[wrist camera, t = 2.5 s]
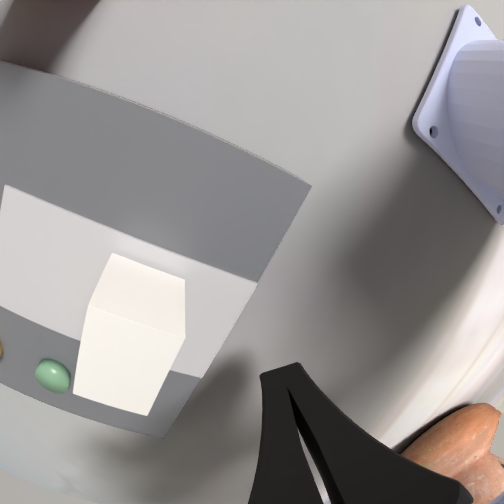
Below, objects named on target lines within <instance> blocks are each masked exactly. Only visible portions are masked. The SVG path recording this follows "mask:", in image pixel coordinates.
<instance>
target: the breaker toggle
mask: <svg viewBox="0 0 504 504" xmlns="http://www.w3.org/2000/svg"><path fill="white" fill-rule="evenodd" d="M185 338H186V336H185V280H184V279H181V278H179V277H176V276H173V275H170V274H168V273H165V272H162V271H159V270H157V269H154V268H151V267H149V266H146V265H143V264H141V263H138V262H135V261H133V260H130V259H127V258H125V257H122V256H120V255H117V254H114V253H112V254H111V256H110V258H109V260H108V262H107V264H106V266H105V268H104V270H103V273H102V275H101V277H100V279H99V281H98V284H97V286H96V288H95V290H94V293H93V295H92V297H91V299H90V302H89V304H88V308H87V313H86V317H85V322H84V327H83V332H82V337H81V342H80V348H79V354H78V360H77V366H76V373H75V380H74V387H73V394H75V395H78V396H81V397H84V398H87V399H90V400H93V401H96V402H99V403H102V404H105V405H109V406H112V407H115V408H119V409H122V410H126V411H130V412H133V413H137V414H141V415H145V416H147V415H148V413H149V411H150V409H151V407H152V405H153V403H154V401H155V399H156V397H157V395H158V393H159V391H160V389H161V386H162V384H163V382H164V380H165V378H166V376H167V374H168V372H169V370H170V368H171V366H172V364H173V362H174V360H175V358H176V356H177V354H178V352H179V350H180V348H181V346H182V344H183V342H184V340H185Z"/></svg>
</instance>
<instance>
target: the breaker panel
mask: <svg viewBox="0 0 504 504" xmlns="http://www.w3.org/2000/svg"><path fill="white" fill-rule="evenodd" d="M311 187H312V186H311V185H309V184H308V183H306V182H305V181H303V180H302V179H300V178H299V177H297V176H295V175H294V174H292V173H290V172H288V171H286V170H284V169H282V168H280V167H278V166H276V165H274V164H273V163H271V162H269V161H267V160H265V159H263V158H261V157H259V156H257V155H255V154H253V153H251V152H248V151H246V150H244V149H242V148H240V147H238V146H236V145H234V144H232V143H230V142H228V141H225V140H223V139H221V138H219V137H217V136H215V135H212V134H210V133H208V132H206V131H204V130H201V129H199V128H197V127H195V126H192V125H190V124H188V123H185V122H183V121H181V120H178V119H176V118H174V117H171V116H169V115H166V114H164V113H161V112H159V111H156V110H154V109H151V108H149V107H146V106H144V105H141V104H139V103H136V102H133V101H131V100H128V99H125V98H123V97H120V96H117V95H115V94H112V93H109V92H106V91H103V90H100V89H98V88H95V87H92V86H89V85H86V84H83V83H80V82H76V81H73V80H70V79H67V78H64V77H60V76H57V75H54V74H50V73H47V72H43V71H40V70H36V69H33V68H29V67H25V66H21V65H17V64H13V63H9V62H5V61H0V383H2V384H4V385H6V386H8V387H10V388H12V389H14V390H16V391H19V392H21V393H23V394H25V395H27V396H30V397H32V398H34V399H37V400H39V401H41V402H44V403H46V404H49V405H51V406H54V407H56V408H59V409H62V410H64V411H67V412H70V413H73V414H76V415H79V416H81V417H84V418H88V419H91V420H94V421H97V422H100V423H104V424H107V425H111V426H114V427H118V428H121V429H125V430H129V431H133V432H137V433H141V434H146V435H150V436H155V437H160V438H164V437H165V436H166V434H167V433H168V431H169V429H170V428H171V426H172V425H173V423H174V421H175V420H176V418H177V416H178V415H179V413H180V412H181V410H182V408H183V407H184V405H185V403H186V402H187V400H188V398H189V397H190V395H191V394H192V392H193V390H194V389H195V387H196V385H197V384H198V382H199V380H200V379H201V378H202V377H203V376H204V374H205V372H206V371H207V369H208V368H209V366H210V364H211V363H212V361H213V359H214V358H215V356H216V354H217V353H218V351H219V349H220V348H221V346H222V344H223V343H224V341H225V339H226V338H227V336H228V334H229V332H230V331H231V329H232V327H233V326H234V324H235V322H236V321H237V319H238V317H239V316H240V314H241V312H242V311H243V309H244V307H245V305H246V304H247V302H248V300H249V299H250V297H251V295H252V293H253V292H254V290H255V288H256V287H257V285H258V284H257V282H258V281H259V279H260V277H261V275H262V274H263V272H264V270H265V268H266V267H267V265H268V263H269V261H270V260H271V258H272V256H273V254H274V253H275V251H276V249H277V247H278V246H279V244H280V242H281V240H282V239H283V237H284V235H285V233H286V232H287V230H288V228H289V226H290V225H291V223H292V221H293V219H294V218H295V216H296V214H297V212H298V210H299V209H300V207H301V205H302V203H303V202H304V200H305V198H306V196H307V194H308V193H309V191H310V189H311ZM112 253H114V254H117V255H120V256H122V257H125V258H127V259H130V260H133V261H135V262H138V263H141V264H143V265H146V266H149V267H151V268H154V269H157V270H159V271H162V272H165V273H168V274H170V275H173V276H176V277H179V278H181V279H184V280H185V336H186V338H185V340H184V342H183V344H182V346H181V348H180V350H179V352H178V354H177V356H176V358H175V360H174V362H173V364H172V366H171V368H170V370H169V372H168V374H167V376H166V378H165V380H164V382H163V384H162V386H161V389H160V391H159V393H158V395H157V397H156V399H155V401H154V403H153V405H152V407H151V409H150V411H149V413H148V415H147V416H145V415H141V414H137V413H133V412H130V411H126V410H122V409H119V408H115V407H112V406H109V405H105V404H102V403H99V402H96V401H93V400H90V399H87V398H84V397H81V396H78V395H75V394H73V387H74V380H75V373H76V366H77V360H78V354H79V348H80V342H81V337H82V332H83V327H84V322H85V317H86V313H87V308H88V304H89V302H90V299H91V297H92V295H93V293H94V290H95V288H96V286H97V284H98V281H99V279H100V277H101V275H102V273H103V270H104V268H105V266H106V264H107V262H108V260H109V258H110V256H111V254H112Z"/></svg>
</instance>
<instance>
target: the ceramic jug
mask: <svg viewBox="0 0 504 504" xmlns="http://www.w3.org/2000/svg"><path fill="white" fill-rule="evenodd" d="M501 415H502V413H501V412H500V411H498V410H496V409H495V408H494V407H493V406H491V405H490V404H487V403H477V404H473V405H469V406H467V407H464V408H462V409H460V410H458V411H456V412H454V413H452V414H450V415H448V416H447V417H445V418H444V419H442V420H441V421H439V422H437V423H436V424H435V425H433V426H432V427H431V428H429V429H428V430H427V431H425V432H424V433H423V434H422V435H420V436H419V437H418V438H417V439H416V440H415V441H414V442H412V443H411V444H410V445H409V446H408V447H407V448H406V449H405V450H404V451H403V452H402V453H401V455H402V456H404V457H406V458H407V459H409V460H411V461H413V462H415V463H417V464H419V465H421V466H423V467H425V468H427V469H429V470H432V471H434V472H436V473H439V474H441V475H444V476H447V477H449V478H452V479H455V480H458V481H459V482H460V483H461V484H462V485H463V486H464V487H465V488H466V489H467V490H468V491H469V492H470V494H471V495H472V497H473V499H474V501H473V503H472V504H489V503H490V502H491V501H492V500H494V499H495V498H496V497H497V496H498V495H500V494H501V493H502V492H503V491H504V459H502V458H500V457H497V456H495V455H493V454H491V453H490V448H491V444H492V441H493V439H494V436H495V433H496V430H497V427H498V424H499V418H500V416H501Z"/></svg>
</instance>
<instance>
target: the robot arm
mask: <svg viewBox="0 0 504 504" xmlns="http://www.w3.org/2000/svg"><path fill="white" fill-rule="evenodd" d="M412 126H413V129H414V131H415V133H416V134H417V135H418V136H419V137H420V138H421V139H422V140H424V141H425V142H426V143H427V144H428V145H429V146H430V147H431V148H432V149H433V150H434V151H435V152H436V153H437V154H438V155H439V156H440V157H441V158H442V159H443V160H444V161H445V162H446V163H447V164H448V165H449V166H450V167H451V168H452V170H453V171H454V172H455V173H456V174H457V175H458V176H459V177H460V178H461V179H462V180H463V182H464V183H465V184H466V185H467V186H468V187H469V188H470V189H471V191H472V192H473V193H474V194H475V195H476V196H477V198H478V199H479V200H480V201H481V203H482V204H483V205H484V206H485V207H486V209H487V210H488V211H489V212H490V214H491V215H492V216H493V218H494V219H495V220H496V221H497V222H498V223H499V224H501V225H504V40H497V39H496V37H495V36H494V34H493V33H492V32H491V30H490V29H489V28H488V26H487V25H486V24H485V22H484V21H483V20H482V19H481V17H480V16H479V15H478V14H477V12H476V11H475V10H474V9H473V8H472V7H471V6H469V5H464V6H461V8H460V10H459V13H458V16H457V18H456V21H455V24H454V26H453V29H452V31H451V34H450V36H449V39H448V41H447V44H446V46H445V48H444V51H443V53H442V56H441V58H440V60H439V63H438V65H437V67H436V69H435V72H434V74H433V76H432V78H431V81H430V83H429V85H428V87H427V89H426V92H425V94H424V96H423V98H422V100H421V102H420V104H419V106H418V109H417V111H416V113H415V115H414V117H413V120H412ZM430 128H432V134H431V136H430V132H429V131H430ZM260 381H261V388H262V407H263V411H262V432H261V441H260V449H259V457H258V463H257V468H256V473H255V478H254V483H253V487H252V491H251V494H250V498H249V502H248V504H324V503H323V501H322V498H321V496H320V493H319V491H318V488H317V486H316V483H315V481H314V478H313V475H312V473H311V470H310V467H309V465H308V462H307V460H306V457H305V454H304V452H303V449H302V445H301V442H300V438H299V434H298V430H297V427H298V429H299V431H300V434H301V436H302V438H303V440H304V442H305V444H306V446H307V448H308V450H309V452H310V454H311V457H312V459H313V461H314V463H315V465H316V467H317V469H318V471H319V473H320V475H321V478H322V480H323V482H324V485H325V488H326V491H327V493H328V496H329V499H330V501H331V504H472V503H473V501H474V499H473V497H472V495H471V494H470V492H469V491H468V490H467V489H466V488H465V487H464V486H463V485H462V484H461V483H460V482H459V481H458V480H455V479H452V478H449V477H447V476H444V475H441V474H439V473H436V472H434V471H432V470H429V469H427V468H425V467H423V466H421V465H419V464H417V463H415V462H413V461H411V460H409V459H407V458H406V457H404V456H402V455H400V454H398V453H397V452H395V451H393V450H391V449H390V448H388V447H387V446H385V445H384V444H382V443H381V442H379V441H378V440H376V439H375V438H374V437H372V436H371V435H369V434H368V433H367V432H365V431H364V430H363V429H362V428H360V427H359V426H358V425H357V424H355V423H354V422H353V421H352V420H351V419H350V418H349V417H347V416H346V415H345V414H344V413H343V412H342V411H341V410H340V409H339V408H338V407H337V406H336V405H335V404H334V403H333V402H332V401H331V400H330V399H329V398H328V397H327V396H326V395H325V394H324V393H323V392H322V391H321V390H320V389H319V387H318V386H317V385H316V384H315V383H314V382H313V380H312V379H311V378H310V377H309V375H308V374H307V373H306V371H305V370H304V368H303V367H302V365H301V364H300V363H298V362H296V363H293V364H290V365H287V366H284V367H280V368H277V369H274V370H271V371H267V372H264V373H262V374H261V375H260ZM296 425H297V426H296ZM489 504H504V491H503V492H502V493H501V494H500V495H498V496H497V497H496V498H495V499H494V500H492V501H491V502H490V503H489Z"/></svg>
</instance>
